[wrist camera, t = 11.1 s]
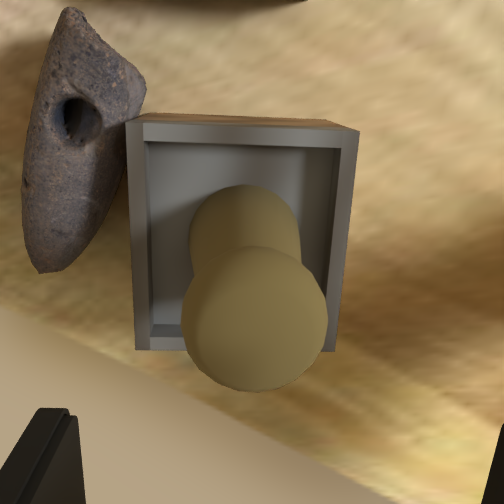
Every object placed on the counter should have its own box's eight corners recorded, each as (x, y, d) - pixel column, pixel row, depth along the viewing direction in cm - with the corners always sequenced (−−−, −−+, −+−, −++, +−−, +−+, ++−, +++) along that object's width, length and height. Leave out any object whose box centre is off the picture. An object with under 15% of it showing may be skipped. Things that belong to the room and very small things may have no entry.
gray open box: (325, 119, 30) (359, 131, 23) (309, 291, 34) (334, 351, 27) (150, 112, 29) (125, 122, 22) (155, 289, 33) (135, 350, 26)
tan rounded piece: (176, 276, 26) (144, 401, 16) (203, 170, 24) (188, 232, 14) (280, 301, 27) (315, 436, 17) (314, 202, 25) (378, 283, 15)
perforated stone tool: (99, 268, 33) (68, 313, 26) (22, 242, 32) (-29, 282, 25) (169, 49, 28) (153, 39, 22) (82, 13, 28) (39, -10, 21)
